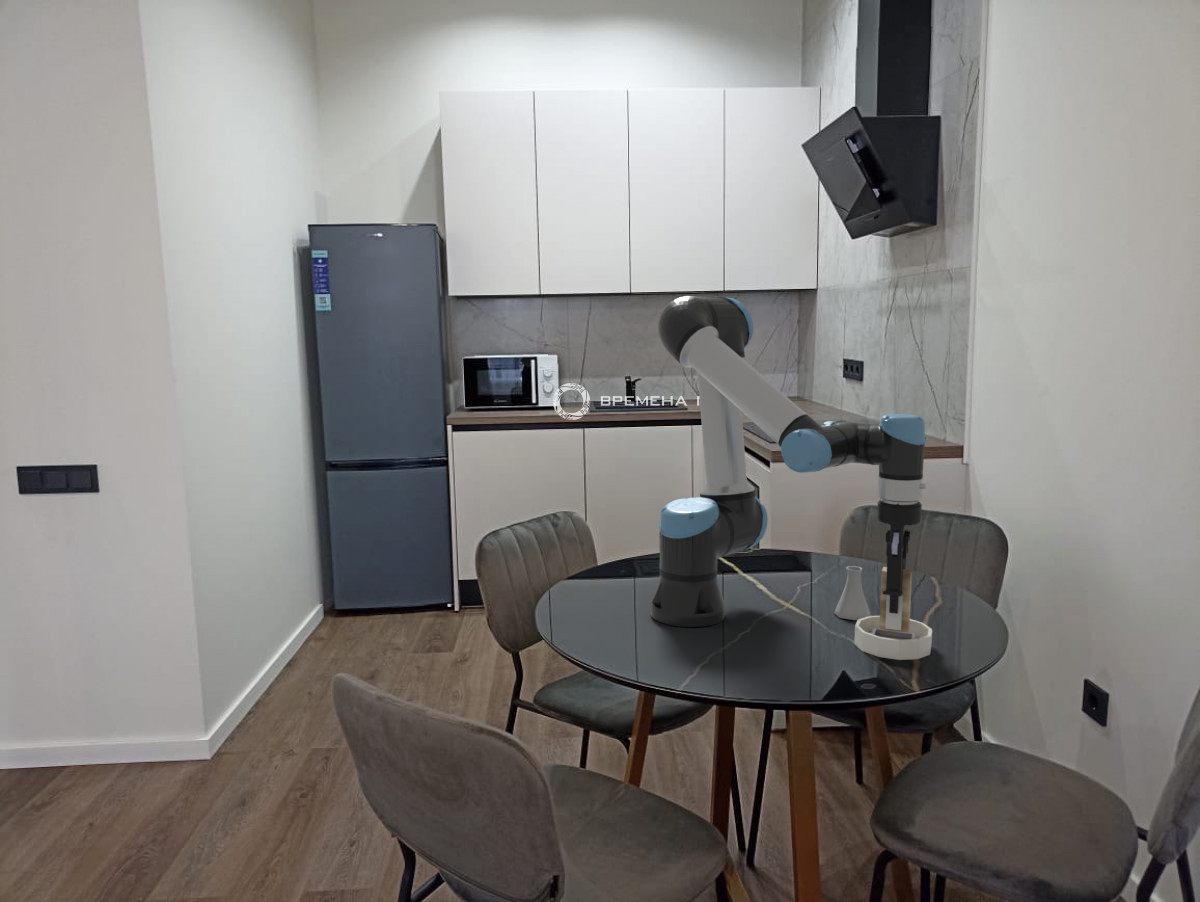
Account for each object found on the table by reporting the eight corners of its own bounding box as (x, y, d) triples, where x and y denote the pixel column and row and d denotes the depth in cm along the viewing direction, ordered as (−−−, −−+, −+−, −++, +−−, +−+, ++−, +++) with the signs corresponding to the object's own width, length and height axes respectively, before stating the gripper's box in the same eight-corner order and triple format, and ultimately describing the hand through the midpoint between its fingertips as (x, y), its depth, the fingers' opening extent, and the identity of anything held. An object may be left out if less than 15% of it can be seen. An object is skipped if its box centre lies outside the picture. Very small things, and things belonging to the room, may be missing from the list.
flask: (872, 622, 173) (874, 574, 171) (835, 620, 174) (837, 572, 173) (869, 611, 180) (871, 564, 178) (833, 608, 181) (834, 562, 180)
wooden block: (879, 629, 159) (881, 570, 158) (881, 623, 162) (883, 566, 160) (908, 632, 157) (910, 573, 156) (909, 627, 160) (912, 569, 158)
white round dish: (850, 652, 157) (851, 634, 156) (860, 629, 169) (861, 611, 168) (928, 664, 152) (929, 645, 151) (932, 639, 164) (933, 621, 163)
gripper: (918, 510, 147) (912, 643, 151) (924, 494, 162) (919, 615, 165) (872, 507, 150) (867, 637, 154) (882, 491, 165) (878, 610, 168)
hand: (894, 625), depth 160 cm, fingers closed on wooden block, 3 cm apart
